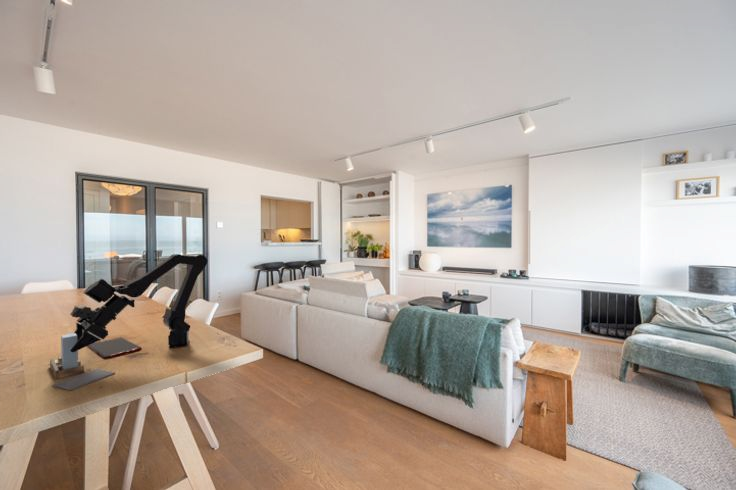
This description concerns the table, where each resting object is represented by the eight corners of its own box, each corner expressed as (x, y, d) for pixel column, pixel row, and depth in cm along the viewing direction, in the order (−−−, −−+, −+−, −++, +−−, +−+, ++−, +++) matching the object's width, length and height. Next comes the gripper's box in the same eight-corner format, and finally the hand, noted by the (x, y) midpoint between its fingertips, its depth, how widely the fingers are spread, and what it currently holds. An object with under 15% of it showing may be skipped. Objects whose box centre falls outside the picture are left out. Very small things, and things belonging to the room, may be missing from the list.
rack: (76, 360, 114) (76, 353, 114) (84, 371, 105) (83, 364, 105) (50, 366, 109) (50, 359, 109) (55, 378, 100) (55, 371, 100)
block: (76, 368, 107) (75, 333, 107) (78, 371, 105) (77, 335, 104) (62, 372, 105) (61, 335, 104) (64, 375, 102) (62, 338, 102)
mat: (97, 369, 106) (97, 368, 106) (114, 373, 103) (114, 372, 103) (52, 385, 95) (52, 384, 95) (70, 390, 92) (70, 389, 92)
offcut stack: (77, 361, 114) (76, 352, 114) (79, 364, 111) (78, 354, 111) (54, 366, 109) (53, 357, 109) (55, 369, 107) (55, 360, 107)
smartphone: (121, 336, 140) (143, 347, 125) (121, 339, 140) (143, 350, 125) (85, 344, 130) (104, 356, 115) (85, 347, 130) (104, 361, 115)
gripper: (84, 293, 114) (41, 330, 106) (94, 300, 102) (47, 342, 94) (111, 311, 120) (73, 347, 112) (124, 319, 109) (83, 359, 100)
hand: (69, 348), depth 104 cm, fingers open, 9 cm apart
